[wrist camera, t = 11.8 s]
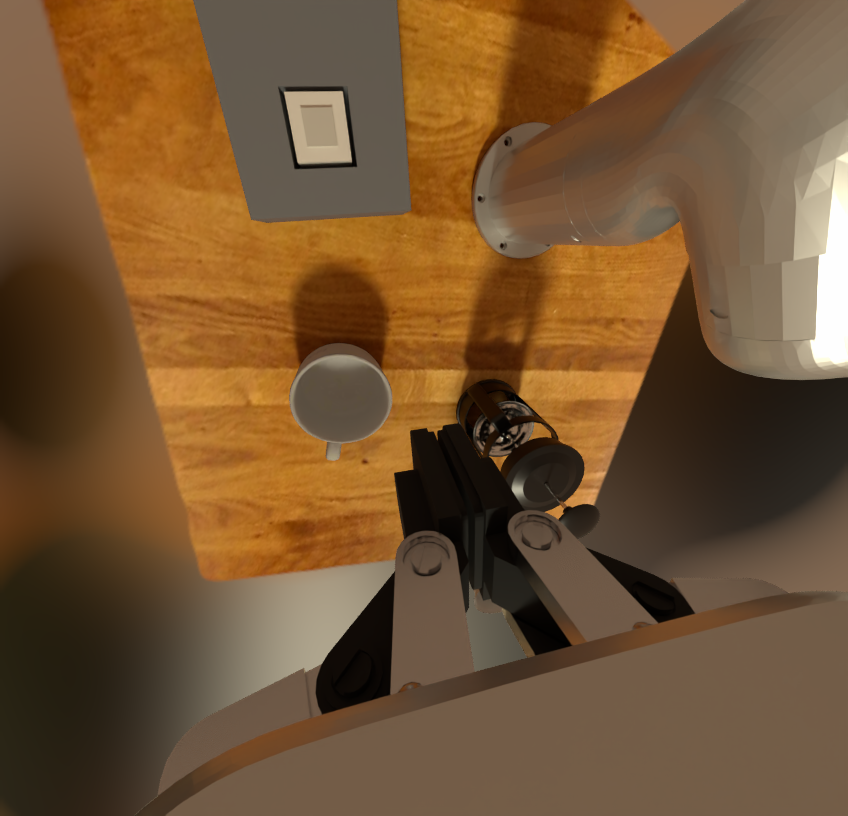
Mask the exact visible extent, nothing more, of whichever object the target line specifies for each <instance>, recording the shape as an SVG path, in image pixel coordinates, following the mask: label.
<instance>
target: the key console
mask: <svg viewBox="0 0 848 816" xmlns="http://www.w3.org/2000/svg"><path fill="white" fill-rule="evenodd" d="M193 1H194V5H195V8H196V12H197V16H198V20H199V24H200V27H201V31H202V35H203V39H204V43H205V46H206V50H207V54H208V58H209V61H210V65H211V69H212V73H213V77H214V80H215V84H216V88H217V92H218V95H219V99H220V103H221V107H222V111H223V114H224V118H225V122H226V126H227V130H228V133H229V137H230V141H231V145H232V148H233V152H234V156H235V160H236V164H237V167H238V171H239V175H240V179H241V183H242V186H243V190H244V194H245V198H246V201H247V205H248V209H249V213H250V217H251V220H256V221H261V222H266V223H269V222H285V221H302V220H319V219H335V218H352V217H368V216H385V215H402V214H404V213H406V212H408V211H410V210H411V201H410V186H409V172H408V157H407V143H406V128H405V113H404V99H403V84H402V70H401V55H400V40H399V26H398V11H397V0H193ZM320 91H343V98H344V105H345V113H346V120H347V128H348V135H349V143H350V151H351V158H352V167H345V168H319V169H302V168H301V167H300V165H299V164H298V161H297V156H296V151H295V146H294V141H293V135H292V130H291V125H290V120H289V115H288V110H287V104H286V99H285V94H284V92H320Z"/></svg>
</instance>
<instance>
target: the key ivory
mask: <svg viewBox="0 0 848 816" xmlns="http://www.w3.org/2000/svg"><path fill="white" fill-rule="evenodd" d="M284 94H285V99H286V104H287V110H288V115H289V120H290V125H291V130H292V135H293V141H294V146H295V151H296V156H297V161H298V164H299V165H300V167H301V168H302V169H319V168H345V167H352V158H351V151H350V143H349V135H348V128H347V120H346V113H345V105H344V98H343V91H320V92H284Z"/></svg>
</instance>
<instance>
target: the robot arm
mask: <svg viewBox="0 0 848 816" xmlns="http://www.w3.org/2000/svg"><path fill="white" fill-rule="evenodd" d="M504 141H506V142H507V145H506V146H505V144H504ZM478 196H479V197H480V198H481V200H480V202H479V201H478ZM472 209H473V216H474V220H475V223H476V227H477V229H478V231H479V233H480V235H481V237H482V238H483V239H484V241H485V242H486V243H487V245H489V246H490V247H491V248H492V249H493V250H494V251H496V252H498V253H500V254H502V255H503V256H507V257H511V258H519V259H520V258H530V257H533V256H537V255H539V254H541V253H543V252H545V251H547V250H548V249H550V248H551V247H552V246H554V245H591V246H627V245H634V244H638V243H641V242H645V241H647V240H650V239H652V238H654V237H656V236H658V235H660V234H662V233H663V232H665V231H667V230H668V229H670V228H671V227H673V226H674V225H675V224H677V223H678V222H679V221H680V222H681V226H682V230H683V235H684V240H685V247H686V251H687V253H688V255H689V260H690V266H691V272H692V278H693V284H694V290H695V297H696V302H697V309H698V315H699V320H700V325H701V329H702V333H703V337H704V339H705V342H706V344H707V346H708V348H709V349H710V351H711V352H712V353H713V355H714V356H715V357H716V358H717V359H719V360H720V361H721V362H722V363H724V364H726V365H727V366H729V367H731V368H733V369H735V370H738V371H740V372H744V373H748V374H751V375H755V376H761V377H767V378H776V379H796V380H797V379H799V380H806V379H829V378H840V377H848V0H745V1H744V2H743V3H741V4H740V5H739V6H738V7H737V8H735V9H734V10H733V11H732V12H730V13H729V14H728V15H726V16H725V17H724V18H723V19H721V20H720V21H719V22H717V23H716V24H715V25H714V26H712V27H711V28H710V29H708V30H707V31H706V32H704V33H703V34H701V35H700V36H699V37H697V38H696V39H695V40H693V41H692V42H691V43H689V44H688V45H686V46H685V47H683V48H682V49H681V50H679V51H678V52H676V53H675V54H673V55H672V56H670V57H669V58H667V59H666V60H664V61H663V62H661V63H659V64H658V65H656V66H655V67H653V68H652V69H650V70H648V71H647V72H645V73H643V74H642V75H640V76H638V77H637V78H635V79H633V80H631V81H630V82H628V83H626V84H625V85H623V86H621V87H619V88H618V89H616V90H614V91H612V92H611V93H609V94H607V95H605V96H604V97H602V98H600V99H598V100H597V101H595V102H593V103H591V104H590V105H588V106H586V107H585V108H583V109H581V110H579V111H577V112H576V113H574V114H572V115H570V116H569V117H567V118H565V119H563V120H562V121H560V122H558V123H556V124H555V125H553V126H551V125H549V124H546V123H540V122H531V123H524V124H521V125H519V126H516V127H514V128H512V129H510V130H509V131H507V132H506V133H504V134H503V135H502V136H501V137H499V138H498V139H497V140H496V141H495V142H494V143H493V144H492V145H491V147H490V148H489V149H488V150H487V152H486V153H485V155H484V157H483V159H482V160H481V162H480V164H479V167H478V169H477V172H476V175H475V179H474V184H473V189H472ZM501 243H502V247H501V248H500V244H501ZM437 435H438V441H437V438H436V436H435V434H434V432H428V430H427V428H424V429H418V430H411V431H410V436H411V447H412V457H413V468H414V470H408V471H402V472H397V473H394V476H395V484H396V492H397V499H398V506H399V512H400V518H401V524H402V529H403V535H404V540H403V541H402V542H401V544H400V546H399V547H398V549H397V553H396V561H395V572H394V573H393V574H392V576H391V577H390V578H389V579H388V580H387V582H386V583H385V584H384V585H383V587H382V588H381V589H380V590H379V592H378V593H377V594H376V595H375V596H374V598H373V599H372V600H371V601H370V603H369V604H368V605H367V607H366V608H365V609H364V610H363V611H362V613H361V614H360V615H359V616H358V618H357V619H356V620H355V621H354V623H353V624H352V625H351V626H350V627H349V629H348V630H347V631H346V632H345V634H344V635H343V636H342V637H341V639H340V640H339V641H338V642H337V644H336V645H335V646H334V647H333V649H332V650H331V651H330V652H329V654H328V655H327V657H326V658H325V660H324V662H323V663H322V664H321V665H319V666H317V667H315V668H313V669H312V670H309V671H308V672H305V670H304V668H303V669H301V670H299V671H297V672H295V673H293V674H291V675H289V676H288V677H286V678H283V679H281V680H280V681H277V682H275V683H274V684H271V685H269V686H267V687H265V688H263V689H261V690H259V691H257V692H255V693H253V694H251V695H250V696H248V697H245V698H243V699H242V700H239V701H238V702H235V703H234V704H231V705H229V706H227V707H226V708H224V709H222V710H220V711H218V712H216V713H214V714H212V715H210V716H208V717H206V718H204V719H203V720H202V721H200V722H199V723H197V724H196V725H194V726H193V727H191V728H190V730H189V731H188V732H187V733H186V734H185V735H184V736H183V737H182V738H181V740H180V741H179V742H178V743H177V745H176V746H175V748H174V750H173V751H172V753H171V755H170V756H169V758H168V760H167V761H166V765H165V768H164V771H163V774H162V777H161V780H160V785H159V792H158V796H157V797H156V798H155V799H154V800H152V801H151V802H150V803H148V804H147V805H146V806H144V807H143V808H142V809H141V810H140V811H139V812H138V813H137V814H136V815H135V816H848V592H838V591H807V592H793V593H787V592H786V591H784V590H783V589H781V588H779V587H777V586H775V585H773V584H770V583H768V582H765V581H762V580H757V579H750V578H749V579H748V578H747V579H746V578H672V579H671V581H670V582H666V581H665V580H663V579H661V578H659V577H657V576H655V575H653V574H650V573H648V572H646V571H643V570H641V569H638V568H636V567H633V566H631V565H628V564H626V563H623V562H621V561H618V560H615V559H613V558H611V557H608V556H606V555H603V554H601V553H598V552H596V551H593V550H591V549H588V548H586V547H584V546H583V545H582V543H581V542H579V540H578V539H577V538H576V537H575V536H574V535H573V534H572V533H571V532H570V531H569V530H568V529H567V528H566V527H565V526H564V525H563V524H562V523H561V522H560V521H559V520H558V519H556V518H555V517H554V516H552V515H550V514H548V513H545V512H541V511H537V510H526V511H525V510H524V508H523V507H522V505H521V504H520V502H519V501H518V499H517V497H516V496H515V494H514V493H513V491H512V490H511V488H510V486H509V485H508V483H507V482H506V480H505V479H504V477H503V475H502V474H501V472H500V471H499V469H498V468H497V466H496V464H495V463H494V461H493V460H492V459H491V458H490V457H484V458H480V457H479V455H478V453H477V452H476V450H475V448H474V447H473V445H472V443H471V442H470V440H469V438H468V436H467V435H466V433H465V431H464V430H463V428H462V426H461V425H460V423H457V424H450V425H444V426H443V430H439V431H438V433H437ZM469 581H470V584H471V587H472V589H473V590H476V589H479V591H480V594H481V596H482V599H483V601H484V600H488V599H491V601H492V602H493V603H494V604H496V605H498V606H500V607H502V612H503V614H504V617H505V619H506V620H507V623H508V624H509V626H510V628H511V629H512V631H513V633H514V635H515V637H516V638H517V640H518V642H519V644H520V645H521V647H522V649H523V651H524V653H525V654H526V656H527V658H525V659H521V660H518V661H514V662H510V663H506V664H503V665H499V666H495V667H492V668H488V669H484V670H480V671H477V672H474V666H473V659H472V652H471V647H470V640H469V633H468V627H467V621H466V612H467V610H468V608H469Z"/></svg>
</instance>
